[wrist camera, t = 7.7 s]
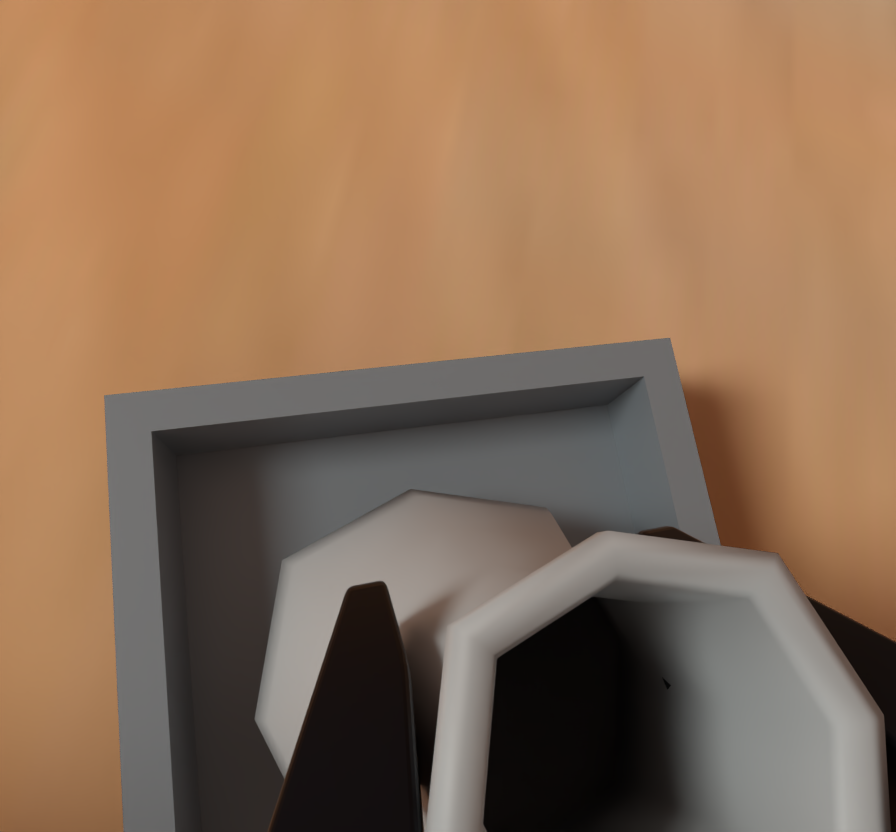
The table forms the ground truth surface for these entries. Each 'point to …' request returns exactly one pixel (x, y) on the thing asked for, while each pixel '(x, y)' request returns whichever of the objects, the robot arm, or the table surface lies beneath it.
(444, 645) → the flask
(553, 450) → the box
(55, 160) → the table surface
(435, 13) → the table surface
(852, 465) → the table surface
